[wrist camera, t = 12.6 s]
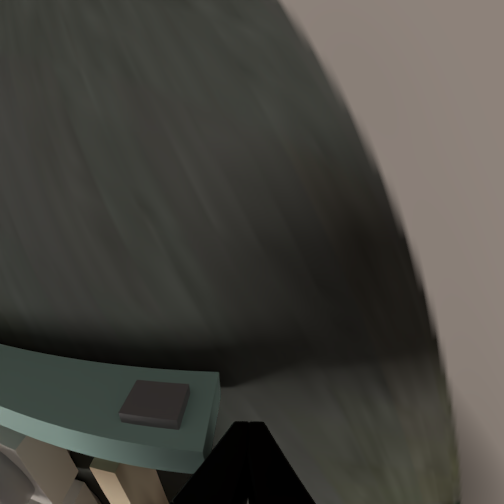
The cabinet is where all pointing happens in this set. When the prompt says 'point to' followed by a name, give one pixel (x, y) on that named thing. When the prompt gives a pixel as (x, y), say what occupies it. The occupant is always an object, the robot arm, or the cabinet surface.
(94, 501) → the jaw
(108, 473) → the housing
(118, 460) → the panel
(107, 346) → the cabinet surface
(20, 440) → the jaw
